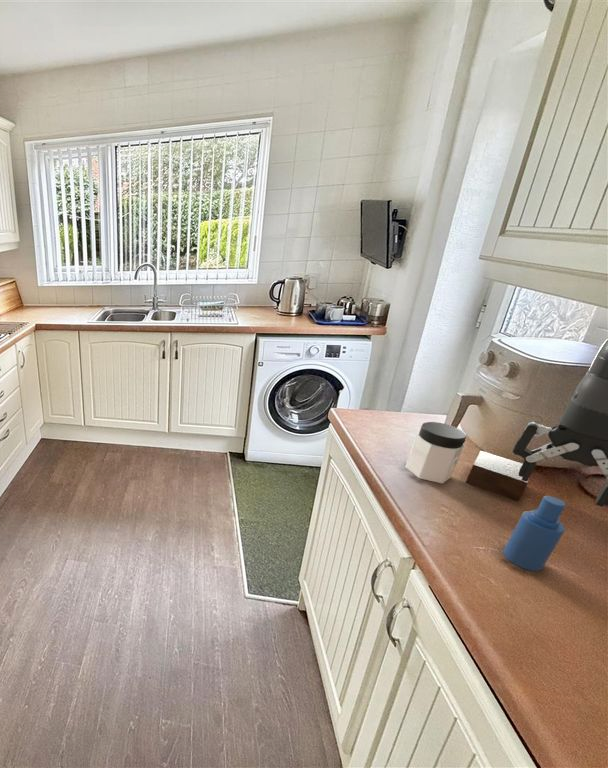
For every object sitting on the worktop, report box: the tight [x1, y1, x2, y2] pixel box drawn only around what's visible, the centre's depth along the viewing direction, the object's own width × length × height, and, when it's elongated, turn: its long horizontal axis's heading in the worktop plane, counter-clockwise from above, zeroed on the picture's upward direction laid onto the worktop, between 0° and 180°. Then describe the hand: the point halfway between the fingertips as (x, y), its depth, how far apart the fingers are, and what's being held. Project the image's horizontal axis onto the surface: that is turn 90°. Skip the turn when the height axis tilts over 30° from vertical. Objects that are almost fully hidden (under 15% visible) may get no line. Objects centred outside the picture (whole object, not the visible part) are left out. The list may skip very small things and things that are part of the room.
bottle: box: [502, 495, 567, 572], centre depth 71 cm, size 5×5×14 cm
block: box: [465, 450, 530, 502], centre depth 93 cm, size 9×9×5 cm
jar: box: [405, 421, 467, 485], centre depth 96 cm, size 9×8×12 cm
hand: (559, 490), depth 68 cm, fingers open, 8 cm apart
